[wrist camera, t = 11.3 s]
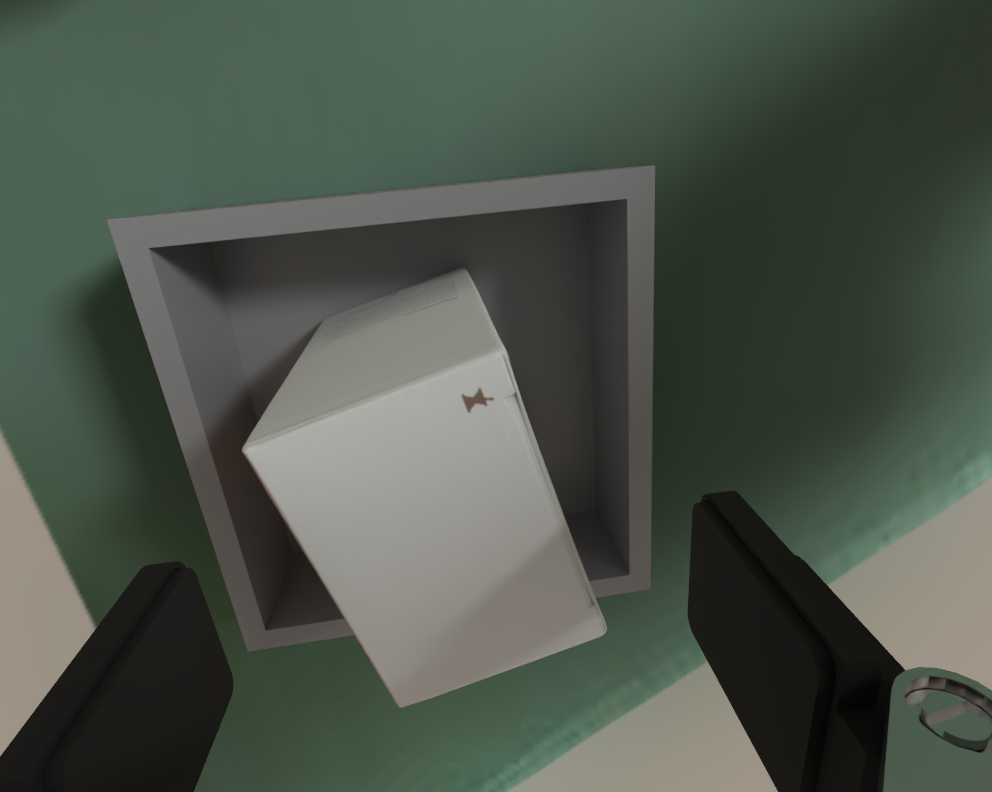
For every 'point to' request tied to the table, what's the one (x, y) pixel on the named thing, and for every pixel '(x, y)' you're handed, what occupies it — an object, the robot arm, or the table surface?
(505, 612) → the small box
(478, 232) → the bin
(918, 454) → the table surface
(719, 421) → the table surface
